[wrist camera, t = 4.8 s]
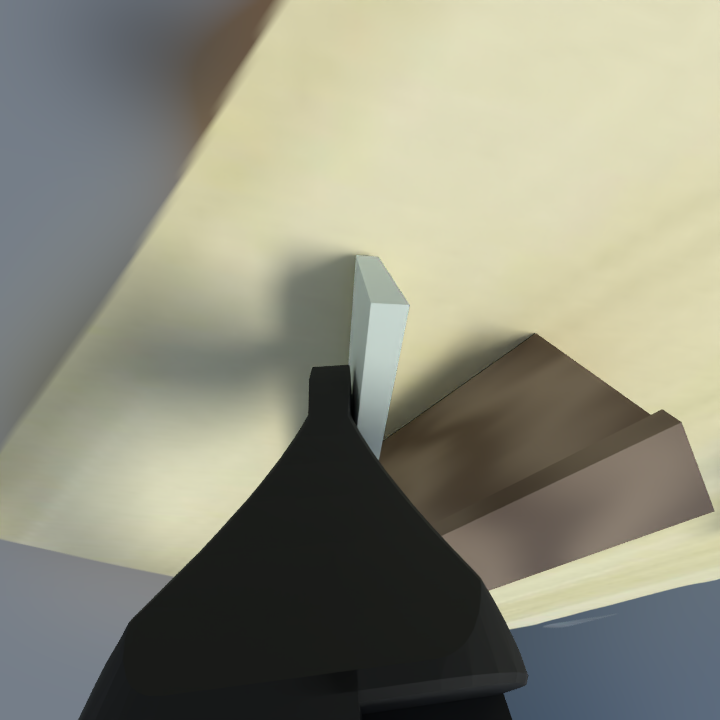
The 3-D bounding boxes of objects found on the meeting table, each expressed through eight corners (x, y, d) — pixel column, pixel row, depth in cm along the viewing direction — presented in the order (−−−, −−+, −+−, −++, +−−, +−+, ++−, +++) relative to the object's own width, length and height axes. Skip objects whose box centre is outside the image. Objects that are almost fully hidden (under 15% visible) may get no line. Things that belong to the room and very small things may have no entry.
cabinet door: (354, 466, 16) (359, 555, 12) (341, 467, 16) (342, 556, 12) (378, 256, 9) (409, 305, 5) (356, 255, 9) (371, 303, 5)
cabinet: (432, 502, 20) (462, 599, 15) (354, 461, 16) (362, 573, 11) (598, 412, 15) (714, 511, 11) (542, 329, 12) (681, 422, 7)
